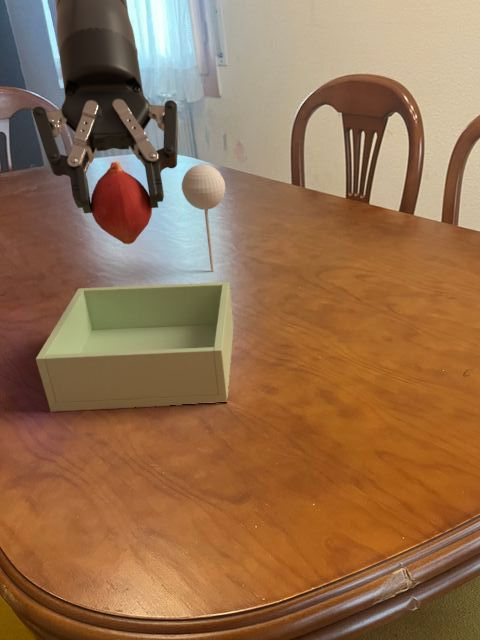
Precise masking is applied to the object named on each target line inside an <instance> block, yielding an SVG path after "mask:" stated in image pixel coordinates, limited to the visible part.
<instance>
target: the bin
mask: <svg viewBox="0 0 480 640" xmlns="http://www.w3.org/2000/svg"><path fill="white" fill-rule="evenodd" d="M230 287H231V285H230V282H229V281H228V282H205V283H204V282H203V283H202V282H201V283H180V284H179V283H177V284H156V285H155V284H154V285H132V286H131V285H129V286H127V285H126V286H105V287H103V286H102V287H85V288H82V287H81V288H77V290H76V292H75V294H74V295H73V297H72V298H71V299H70V302H69V303H68V305H67V307H66V308H65V309H64V311H63V313H62V314H61V316H60V318H59V320H58V321H57V323H56V325H55V326H54V328H53V330H52V331H51V333H50V335H49V336H48V337H47V339H46V341H45V343H44V344H43V345H42V347H41V349H40V351H39V353H38V354H37V356H36V357H35V361H36V365H37V369H38V373H39V375H40V379H41V382H42V386H43V389H44V393H45V397H46V400H47V404H48V407H49V410H50V412H51V413H52V412H53V413H57V412H73V411H75V412H77V411H94V410H114V409H115V410H116V409H135V407H136V408H154V407H155V406H156V407H171V406H170V405H176V406H183V405H182V404H192V403H200V402H201V403H203V402H217V401H218V402H222V401H227V398H228V399H229V389H228V386H229V387H230V377H229V375H230V376H231V365H232V364H231V363H232V351H233V342H234V341H233V339H234V317H233V307H232V299H231V298H232V297H231V288H230ZM230 364H231V365H230ZM156 407H155V408H156Z"/></svg>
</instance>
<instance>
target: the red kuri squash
mask: <svg viewBox="0 0 480 640" xmlns="http://www.w3.org/2000/svg"><path fill="white" fill-rule="evenodd" d="M90 201H91V209H92V213H91V215H92V217H93V220H94V222H95V223H96V224H97V225H98V227H100V229H102V230H103V231H104V232H105V233H107V234H108V235H109V236H111V237H113V238H115V240H116V239H117V241H120V242H122V243H123V244H124V245H131V244H133V243H135V242H136V240H137V239H138V238H139V236H140V235H141V234H142V232H144V230H145V229H146V227H147V226H148V225H149V223H150V220H151V218H152V216H153V215H152V214H153V208H151V203H150V196H149V191H148V190H147V189H146V188H145V186H144V185H143V184H142V183H141V182H140V181H139V180H138V179H137V178H136V177H134V176H132V174H130V173H127V172H126V171H124V170H123V168H122V167H121V164H120V162H118V161H113V162H111V163H110V166H109V168H108V169H107V170H106V172H105V173H104V174H103V175H102V176H101V177H100V178H99V179H98V180H97V182H96V184H95V186H94V189H93V191H92V194H91V196H90Z"/></svg>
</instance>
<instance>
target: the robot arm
mask: <svg viewBox="0 0 480 640" xmlns="http://www.w3.org/2000/svg"><path fill="white" fill-rule="evenodd" d="M54 2H55V10H56V38H57V47H58V52H59V60H60V61H59V62H60V67H61V68H60V69H61V75H62V82H63V91H64V101H63V102H62V105H61V109H55V110H50V111H46V109H45V108H44V107H42V106H36V107H34V108H33V109H32V116H33V119H34V121H35V125H36V128H37V131H38V134H39V137H40V141H41V143H42V146H43V150H44V153H45V156H46V159H47V161H48V165H49V166H50V169H51V171H52V174H53V175H54V176H56V177H62V176H63V175H64V176H67V177H69V179H70V187H71V188H70V189H71V194H72V195H71V196H72V198H73V201H74V203H75V205H76V207H77V208H78V209H82V211H83V213H84V214H92V209H91V195H90V187H89V180H88V177H87V172H88V169H89V167H90V164H92V163H93V161H94V159H95V156H96V153H97V152H104V151H105V152H106V151H108V150H112V149H115V150H120V151H121V150H131V151H132V152H133V154H134V156H135V157H136V158H137V160H138V161H140V162H141V163H142V165H143V166H144V170H145V177H146V183H147V189H148V190H147V191H148V194H149V196H150V203H151V208H152V209H157V208H158V209H159V203H161V202H164V198H165V194H164V186H163V179H162V174H161V173H162V171H163V170H165V169H167V168H168V169H175V168H176V167H177V165H178V142H179V141H178V137H179V115H178V104H177V103H176V101H174V100H170V99H169V100H167V101H165V103H164V105H159V104H150V102H149V100H148V99H147V98H146V96H145V94H144V89H143V82H142V75H141V70H140V69H141V68H140V62H139V56H138V55H139V54H138V53H139V52H138V49H137V43H136V39H135V38H136V37H135V33H134V29H133V24H132V23H131V19H130V16H129V10H128V9H129V8H128V3H127V0H54ZM151 120H154V121H155V122H156V125H157V128H158V129H160V130H161V131H163V147H162V148H159V149H157V150H156V149H155V147H154V146H153V144H152V143H151V141H150V140H149V138H148V135H147V132H146V131H145V129H146V128H147V126H148V125H149V123H150V122H151ZM64 124H65V125H67V127H69V128H70V129H71V130H72V131H73V132H74V135H73V139H72V146H71V149H70V151H69V154H68V155H65V154H61V152H60V150H59V147H58V144H57V140H56V138H59V136H60V134H61V132H62V126H63V125H64Z"/></svg>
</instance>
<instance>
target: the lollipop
mask: <svg viewBox="0 0 480 640" xmlns="http://www.w3.org/2000/svg"><path fill="white" fill-rule="evenodd" d="M181 181H182V182H181V191H182V194H183V196H184V198H185V200H186V201H187V202H188V203H189V204H190V206H192V207H194V208H195V209H199V210H204V217H205V226H206V227H205V228H206V235H207V246H208V255H209V264H210V272H212V273H213V272H215V264H214V256H213V255H214V254H213V246H212V237H211V228H210V227H211V226H210V220H209V219H210V218H209V217H210V216H209V210H212V209H214V208H216V207H217V206H218V205H219V204H220V203H221V202H222V201H223V199H224V196H225V193H226V182H225V179H224V178H223V176H222V174H221V173H220V172H219V171H218V169H216V168H215V167H213V166H211V165H208V164H197V165H193V166H192V167H190V168H189V169H188V170H186V173H185V174H184V176H183V179H182V180H181Z"/></svg>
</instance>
